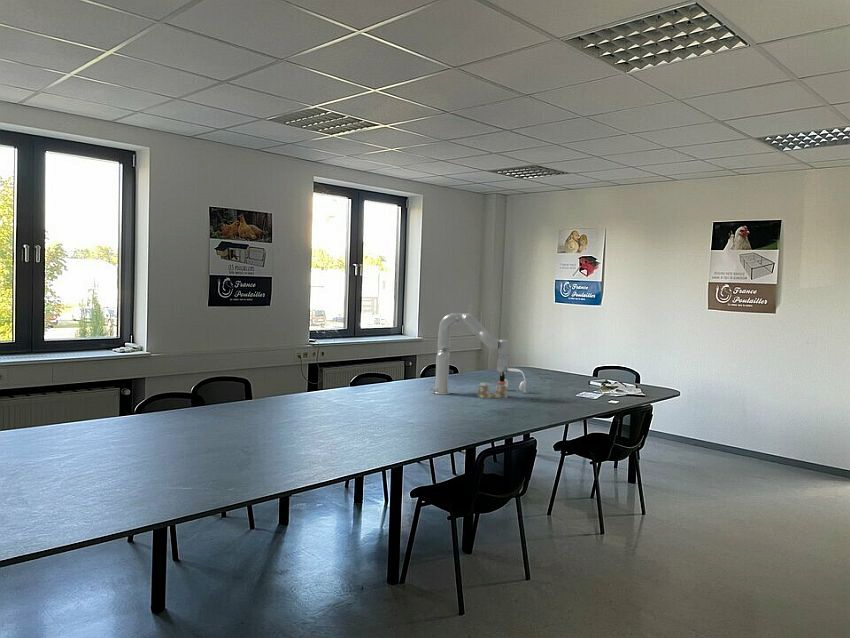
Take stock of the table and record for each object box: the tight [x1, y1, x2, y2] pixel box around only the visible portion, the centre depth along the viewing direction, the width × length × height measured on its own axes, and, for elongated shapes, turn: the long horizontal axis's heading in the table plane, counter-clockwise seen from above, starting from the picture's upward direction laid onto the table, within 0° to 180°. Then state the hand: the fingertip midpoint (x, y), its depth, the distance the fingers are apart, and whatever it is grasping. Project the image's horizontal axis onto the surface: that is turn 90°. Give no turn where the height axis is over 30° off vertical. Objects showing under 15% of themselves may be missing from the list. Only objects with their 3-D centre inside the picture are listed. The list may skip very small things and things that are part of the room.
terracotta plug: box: [497, 380, 505, 387], centre depth 468 cm, size 5×5×8 cm
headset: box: [504, 368, 527, 394], centre depth 492 cm, size 20×7×18 cm, turn 53°
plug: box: [479, 382, 489, 387], centre depth 464 cm, size 5×5×8 cm
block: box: [476, 385, 509, 399], centre depth 466 cm, size 20×10×8 cm, turn 107°
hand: (502, 381), depth 468 cm, fingers closed
